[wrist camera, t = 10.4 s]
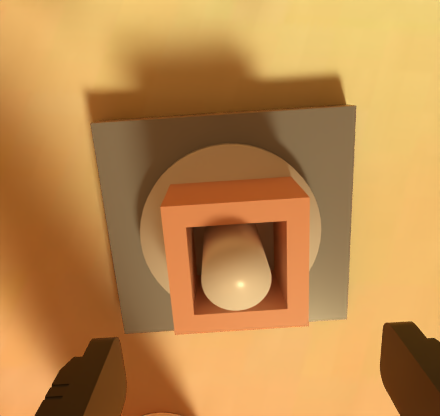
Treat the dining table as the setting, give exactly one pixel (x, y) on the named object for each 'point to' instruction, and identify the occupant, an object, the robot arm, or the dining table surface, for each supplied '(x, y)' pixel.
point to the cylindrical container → (161, 414)
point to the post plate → (184, 132)
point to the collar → (238, 214)
